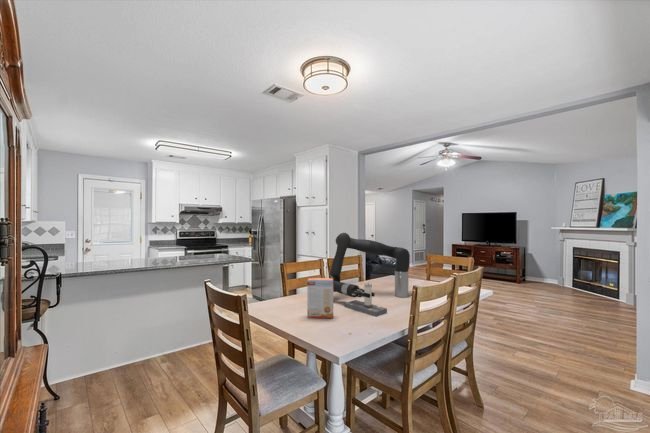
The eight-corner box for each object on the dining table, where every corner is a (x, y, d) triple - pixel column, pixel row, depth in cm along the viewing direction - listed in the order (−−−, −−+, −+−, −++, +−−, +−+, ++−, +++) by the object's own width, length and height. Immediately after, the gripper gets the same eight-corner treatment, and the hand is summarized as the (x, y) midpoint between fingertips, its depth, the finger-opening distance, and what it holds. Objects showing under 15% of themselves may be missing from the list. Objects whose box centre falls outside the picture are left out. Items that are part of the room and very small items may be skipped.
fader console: (344, 306, 191) (344, 302, 191) (355, 303, 198) (355, 299, 198) (375, 316, 173) (375, 311, 173) (386, 312, 180) (386, 308, 180)
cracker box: (333, 315, 176) (333, 277, 176) (332, 318, 170) (332, 280, 170) (308, 314, 177) (308, 277, 177) (307, 317, 171) (307, 279, 171)
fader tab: (363, 305, 184) (363, 283, 184) (367, 304, 187) (367, 283, 187) (368, 307, 181) (368, 285, 181) (372, 305, 184) (372, 284, 184)
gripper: (342, 285, 190) (363, 290, 177) (358, 282, 199) (379, 287, 187) (342, 298, 190) (363, 304, 177) (358, 294, 199) (379, 299, 187)
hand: (371, 295), depth 182 cm, fingers closed on fader tab, 3 cm apart
